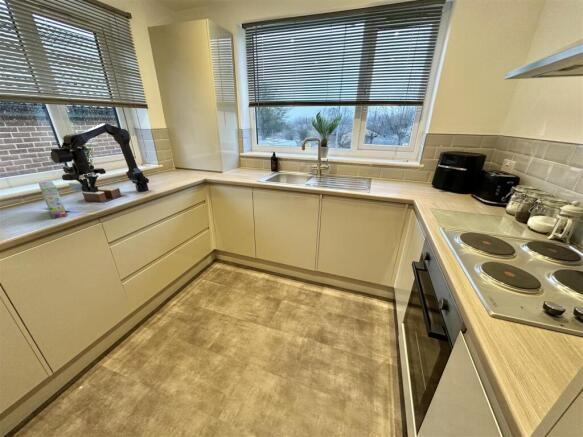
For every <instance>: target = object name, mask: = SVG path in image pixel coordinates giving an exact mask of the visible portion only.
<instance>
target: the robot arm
mask: <svg viewBox="0 0 583 437" xmlns="http://www.w3.org/2000/svg"><path fill="white" fill-rule="evenodd" d="M105 133H106V134H108V135H110V136H112V137H113V139H114V141H115V142H116V143H117V144H118V145H119V147H120V150H121V152H122V156H123V157H124V160H125V163H126V166H127V168H128V169H127V171H126V172H125V174H126V176H127V179H128V180H129V181H130V182H132V184H134V186H135V190H136V192H137V193H145V192H148V191H150V190H149V186H148V184H150V179H149V178H148V177H147V176H145V175H144V173H143V171H142V170H141V169H140V168H139V167H138V164H137V162H136V159H135V156H134V153H133V151H132V148H131V145H130V142H131V136H130V132H129V130H127V129H125V128H121V127H117V126H115V125H112V124H110V123H100V124H99V125H96V126H94V127H91V128H89V129H86V130H84V131H82V132H76V133H70V134H66V135H64V136H63V138H62V139H63V142H62V143H61V146H60V148H50V159H51V160H52V162H53V163H55V164H58V165H59V164H64V163H71V166H69V165H65V166H63V167H62V170H63V172H64V174H62V176H61V179H62V181H68V182H69V181H76V182H78V183H79V184H82V186H83V187H84V188H85V189H86V190H87V191H89V186H96V183H97V180H98V178H99V177H100V175H104V174H107V171H106V169H104V168H102V167H100V168H99V167H96V168H91V167H90V165H91V161H89V160H88V158H87V154H86V152H88V151H90V149H89V148H88V147H86V146H85V144H86V145H87V143H88V141H90V140H92V139H94V138H96V137H98V136H100V135H103V134H105ZM72 161H73V162H72ZM98 174H100V175H98Z"/></svg>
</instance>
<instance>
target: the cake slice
mask: <svg viewBox="0 0 583 437" xmlns="http://www.w3.org/2000/svg"><path fill="white" fill-rule="evenodd" d="M81 192H82V195H83V199H85V200H86V201H98V202H102V201H105V200H106V197H105V194H104V192H100V191H99V192H96V193H91V192H83V191H81Z"/></svg>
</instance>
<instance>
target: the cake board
mask: <svg viewBox="0 0 583 437" xmlns="http://www.w3.org/2000/svg"><path fill="white" fill-rule="evenodd" d="M127 196H128V194H121V195H120V196H117V197H114V198H106V200H105V201H102V202H98V201H86V200H85V199H84V198H83V199H80V200H79V199H78V202H81V203H82V202H83V203H94V204H95V203H97V204H106V203H110V202H111V201H114V200H118V199H120V198H124V197H127Z"/></svg>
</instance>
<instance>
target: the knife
mask: <svg viewBox="0 0 583 437" xmlns="http://www.w3.org/2000/svg"><path fill="white" fill-rule="evenodd" d="M68 185H69V187H70V190H71V191H72V192H73V191H75V192H91V193H96V192H99V190H98V188H99V187H98V186H97V185H95V186H90V185H89V191H87V190H86V189H85V188H84V187H83V186H82V184H81V183H72V182H69V183H68Z"/></svg>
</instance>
